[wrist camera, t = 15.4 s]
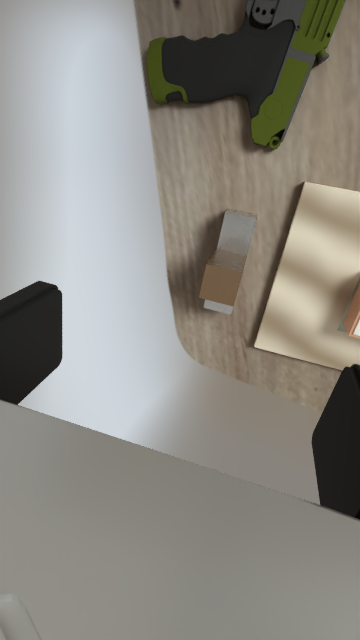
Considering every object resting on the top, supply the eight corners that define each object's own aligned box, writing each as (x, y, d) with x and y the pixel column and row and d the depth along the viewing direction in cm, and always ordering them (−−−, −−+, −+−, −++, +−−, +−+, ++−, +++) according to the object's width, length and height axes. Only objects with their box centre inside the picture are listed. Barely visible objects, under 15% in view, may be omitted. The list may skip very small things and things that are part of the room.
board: (304, 181, 32) (305, 181, 31) (462, 211, 30) (468, 212, 29) (254, 343, 39) (254, 347, 39) (377, 375, 37) (379, 380, 37)
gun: (203, -182, 25) (401, -131, 24) (143, 108, 33) (288, 155, 32) (198, -218, 22) (417, -164, 21) (134, 102, 31) (290, 153, 30)
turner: (229, 208, 34) (215, 220, 25) (257, 214, 34) (254, 228, 25) (208, 296, 39) (191, 333, 30) (233, 303, 38) (223, 342, 29)
